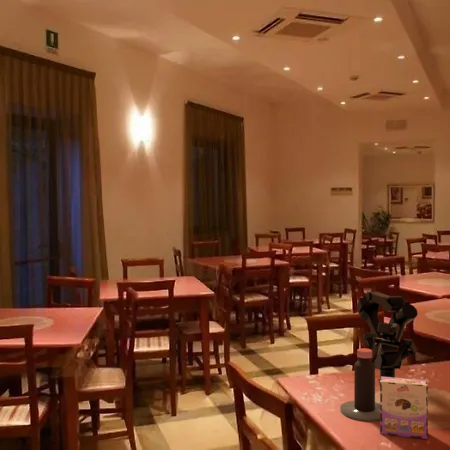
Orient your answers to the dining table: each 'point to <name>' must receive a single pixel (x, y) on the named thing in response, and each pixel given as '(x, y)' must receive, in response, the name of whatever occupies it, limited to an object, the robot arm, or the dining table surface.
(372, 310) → the robot arm
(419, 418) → the candy box
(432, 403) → the dining table surface
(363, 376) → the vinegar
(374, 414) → the plate
